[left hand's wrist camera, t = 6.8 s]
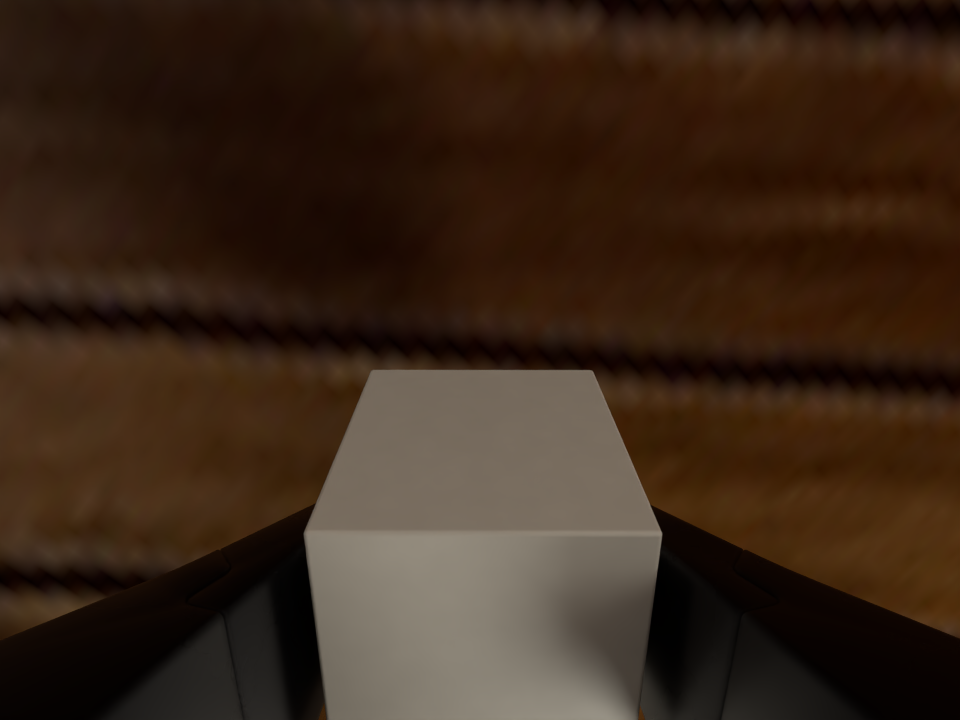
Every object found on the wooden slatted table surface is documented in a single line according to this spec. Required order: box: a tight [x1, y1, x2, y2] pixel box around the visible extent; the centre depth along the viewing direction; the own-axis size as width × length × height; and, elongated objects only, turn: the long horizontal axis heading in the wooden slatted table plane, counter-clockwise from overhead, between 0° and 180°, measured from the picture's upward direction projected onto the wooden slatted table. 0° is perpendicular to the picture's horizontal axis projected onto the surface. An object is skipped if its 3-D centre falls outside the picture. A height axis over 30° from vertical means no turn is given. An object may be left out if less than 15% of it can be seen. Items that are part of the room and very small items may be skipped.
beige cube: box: [304, 370, 662, 720], centre depth 10 cm, size 4×5×5 cm
